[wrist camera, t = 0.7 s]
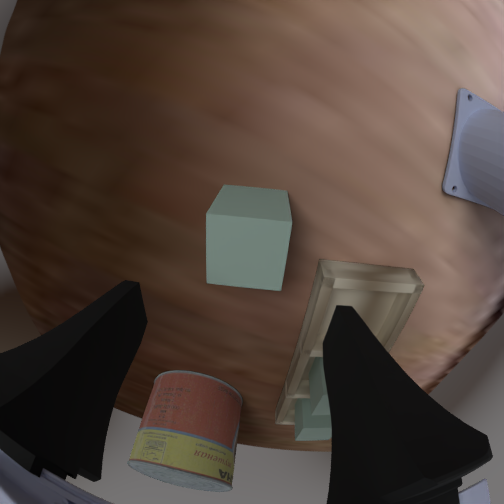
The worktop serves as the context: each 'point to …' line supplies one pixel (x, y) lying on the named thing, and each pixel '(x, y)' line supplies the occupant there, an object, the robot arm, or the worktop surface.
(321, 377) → the seated block
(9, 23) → the worktop surface
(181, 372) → the canned food
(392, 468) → the robot arm
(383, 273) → the rack
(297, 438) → the seated block
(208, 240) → the loose block
